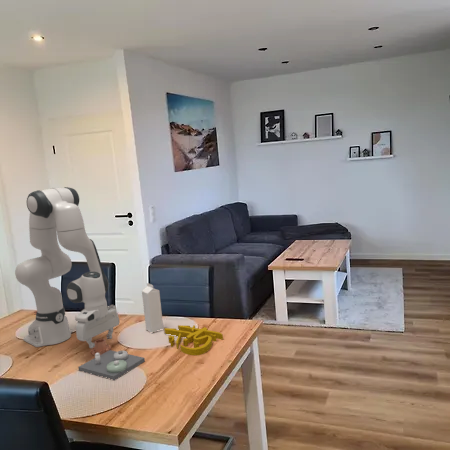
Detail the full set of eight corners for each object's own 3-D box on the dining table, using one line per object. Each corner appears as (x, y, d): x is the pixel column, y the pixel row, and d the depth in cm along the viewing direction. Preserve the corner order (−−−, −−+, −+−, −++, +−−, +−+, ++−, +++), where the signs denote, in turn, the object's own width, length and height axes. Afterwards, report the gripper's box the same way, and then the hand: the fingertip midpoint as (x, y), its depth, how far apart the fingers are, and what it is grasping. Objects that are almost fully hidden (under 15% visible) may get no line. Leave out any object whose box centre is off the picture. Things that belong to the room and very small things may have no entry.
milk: (151, 333, 195) (146, 286, 192) (145, 330, 200) (140, 284, 197) (163, 329, 199) (158, 283, 196) (157, 326, 204) (152, 281, 201)
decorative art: (197, 351, 167) (144, 337, 185) (198, 358, 167) (145, 343, 185) (229, 332, 183) (178, 321, 201) (230, 338, 184) (178, 327, 202)
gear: (87, 353, 179) (85, 343, 178) (101, 346, 186) (100, 335, 185) (100, 356, 175) (99, 346, 174) (114, 349, 181) (113, 338, 181)
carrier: (78, 370, 164) (76, 355, 163) (110, 353, 177) (108, 339, 176) (114, 380, 154) (112, 364, 153) (145, 361, 167) (143, 347, 166)
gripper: (110, 302, 188) (114, 333, 190) (71, 318, 171) (76, 351, 173) (120, 303, 185) (124, 334, 186) (82, 320, 167) (87, 353, 169)
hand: (101, 343), depth 179 cm, fingers open, 8 cm apart
